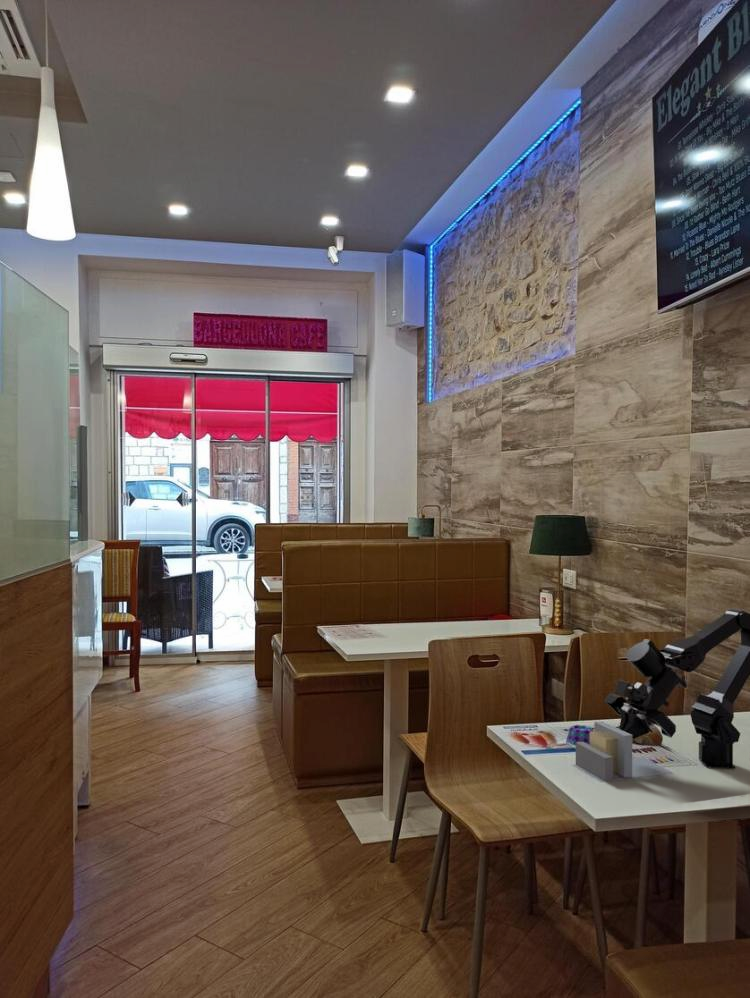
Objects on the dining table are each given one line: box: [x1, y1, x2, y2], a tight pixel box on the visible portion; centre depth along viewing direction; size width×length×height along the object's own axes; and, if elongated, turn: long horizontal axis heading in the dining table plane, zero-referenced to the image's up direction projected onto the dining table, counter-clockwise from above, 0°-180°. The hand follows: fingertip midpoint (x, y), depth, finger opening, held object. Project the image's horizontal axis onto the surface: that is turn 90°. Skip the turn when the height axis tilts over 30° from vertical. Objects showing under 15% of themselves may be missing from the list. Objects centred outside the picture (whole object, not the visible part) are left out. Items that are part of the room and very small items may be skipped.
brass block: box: [590, 730, 617, 775], centre depth 166 cm, size 3×6×8 cm, turn 18°
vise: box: [571, 742, 674, 783], centre depth 167 cm, size 19×11×6 cm, turn 108°
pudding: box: [556, 724, 594, 746], centre depth 187 cm, size 12×12×5 cm
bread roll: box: [632, 724, 664, 748], centre depth 190 cm, size 10×10×8 cm
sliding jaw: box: [593, 720, 633, 778], centre depth 166 cm, size 2×11×9 cm, turn 18°
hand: (617, 743), depth 167 cm, fingers closed, pressing on sliding jaw
